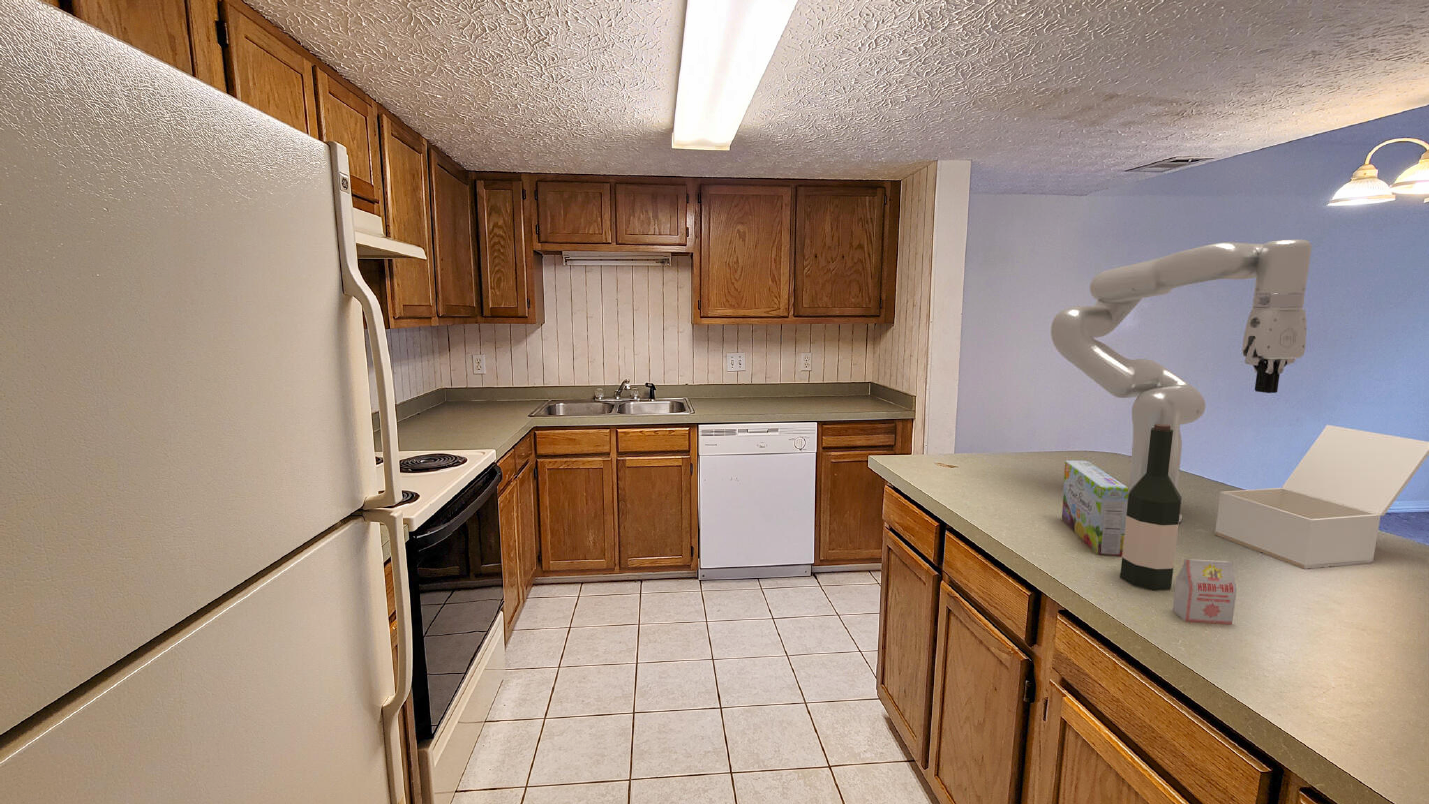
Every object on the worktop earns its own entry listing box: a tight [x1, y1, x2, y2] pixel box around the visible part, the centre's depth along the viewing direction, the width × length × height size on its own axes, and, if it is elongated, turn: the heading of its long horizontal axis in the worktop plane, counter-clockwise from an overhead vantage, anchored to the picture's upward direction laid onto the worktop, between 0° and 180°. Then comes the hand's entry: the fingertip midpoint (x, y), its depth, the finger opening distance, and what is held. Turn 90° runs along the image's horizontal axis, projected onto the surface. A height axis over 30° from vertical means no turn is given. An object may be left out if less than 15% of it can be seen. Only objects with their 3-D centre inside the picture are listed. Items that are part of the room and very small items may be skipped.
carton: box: [1214, 487, 1382, 570], centre depth 125 cm, size 16×18×10 cm
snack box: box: [1061, 460, 1129, 557], centre depth 132 cm, size 21×6×15 cm, turn 168°
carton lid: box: [1281, 424, 1429, 517], centre depth 125 cm, size 17×18×1 cm
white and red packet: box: [1172, 558, 1237, 625], centre depth 98 cm, size 4×7×10 cm, turn 80°
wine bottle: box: [1119, 424, 1183, 592], centre depth 109 cm, size 8×8×30 cm
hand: (1265, 391), depth 123 cm, fingers closed
